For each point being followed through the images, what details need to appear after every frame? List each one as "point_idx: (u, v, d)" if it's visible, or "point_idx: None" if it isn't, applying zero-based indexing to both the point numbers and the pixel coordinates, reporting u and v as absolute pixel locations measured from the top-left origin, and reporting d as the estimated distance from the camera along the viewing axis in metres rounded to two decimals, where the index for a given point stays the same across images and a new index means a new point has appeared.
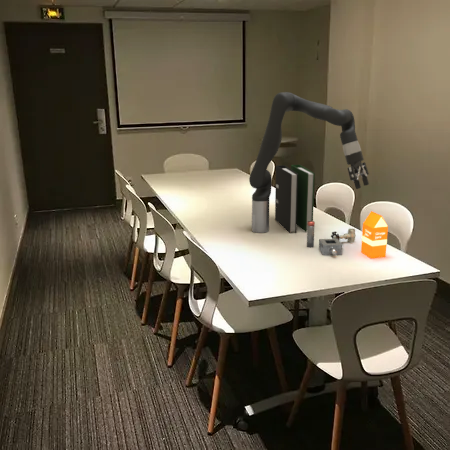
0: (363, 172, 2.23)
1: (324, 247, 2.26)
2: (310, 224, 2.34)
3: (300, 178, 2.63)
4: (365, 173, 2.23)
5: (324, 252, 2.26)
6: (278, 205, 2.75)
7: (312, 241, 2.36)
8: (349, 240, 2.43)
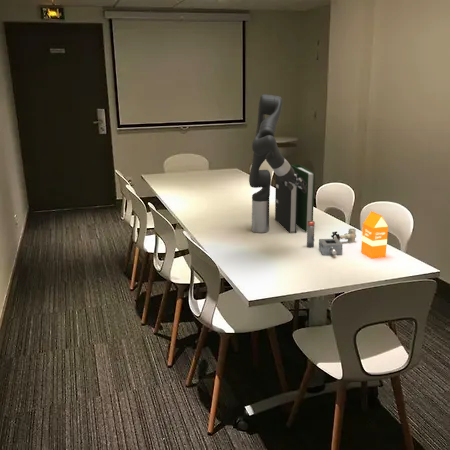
0: None
1: (324, 247, 2.26)
2: (310, 224, 2.34)
3: None
4: (298, 186, 2.23)
5: (324, 252, 2.26)
6: (278, 205, 2.75)
7: (312, 241, 2.36)
8: (349, 240, 2.43)
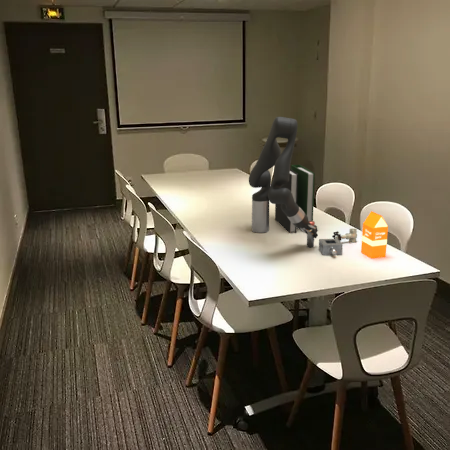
0: None
1: (324, 247, 2.26)
2: None
3: (300, 178, 2.63)
4: (310, 232, 2.33)
5: (324, 252, 2.26)
6: (278, 205, 2.75)
7: (312, 241, 2.36)
8: (351, 240, 2.44)
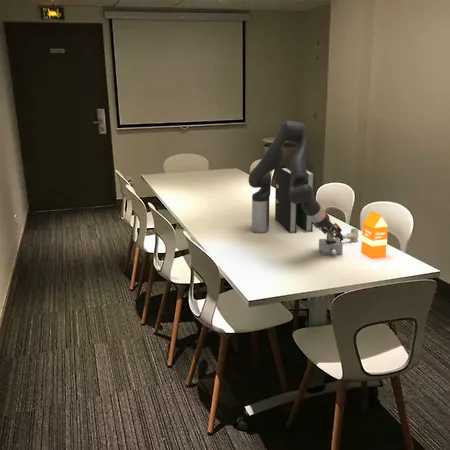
0: (330, 230, 2.23)
1: (324, 247, 2.26)
2: None
3: None
4: (333, 232, 2.23)
5: (324, 252, 2.26)
6: (278, 205, 2.75)
7: None
8: (352, 240, 2.44)
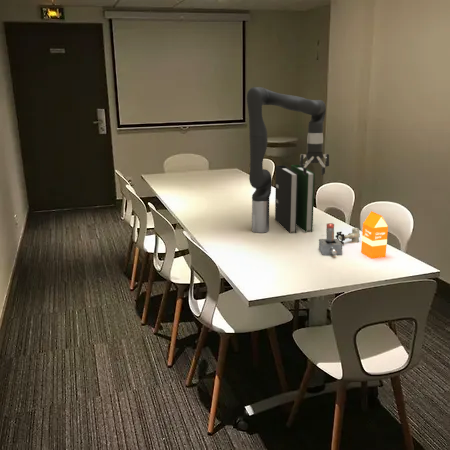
0: (320, 162, 2.39)
1: (324, 247, 2.26)
2: (329, 226, 2.26)
3: (300, 178, 2.63)
4: (322, 164, 2.39)
5: (324, 252, 2.26)
6: (278, 205, 2.75)
7: None
8: (353, 240, 2.44)
